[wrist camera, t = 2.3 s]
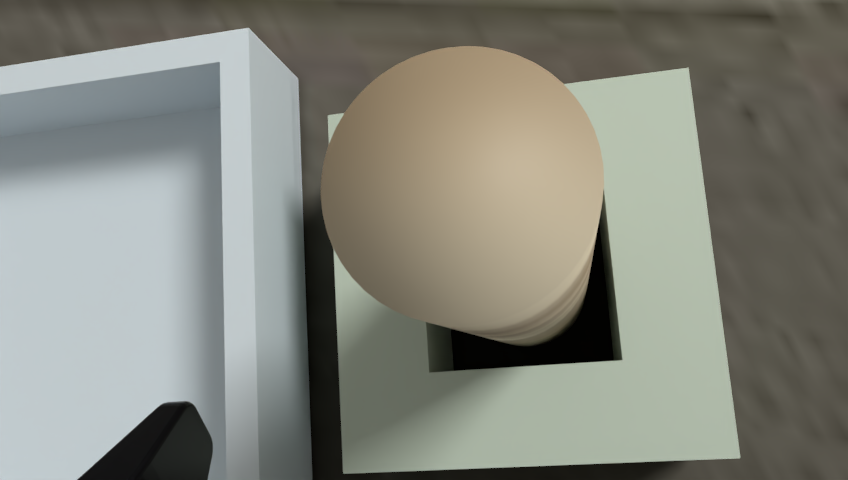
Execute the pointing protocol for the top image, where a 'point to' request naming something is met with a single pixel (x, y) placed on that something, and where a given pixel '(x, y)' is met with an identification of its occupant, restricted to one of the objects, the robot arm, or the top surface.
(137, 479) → the robot arm
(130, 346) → the tray
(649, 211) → the dowel block
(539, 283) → the dowel
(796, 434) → the top surface
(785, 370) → the top surface
